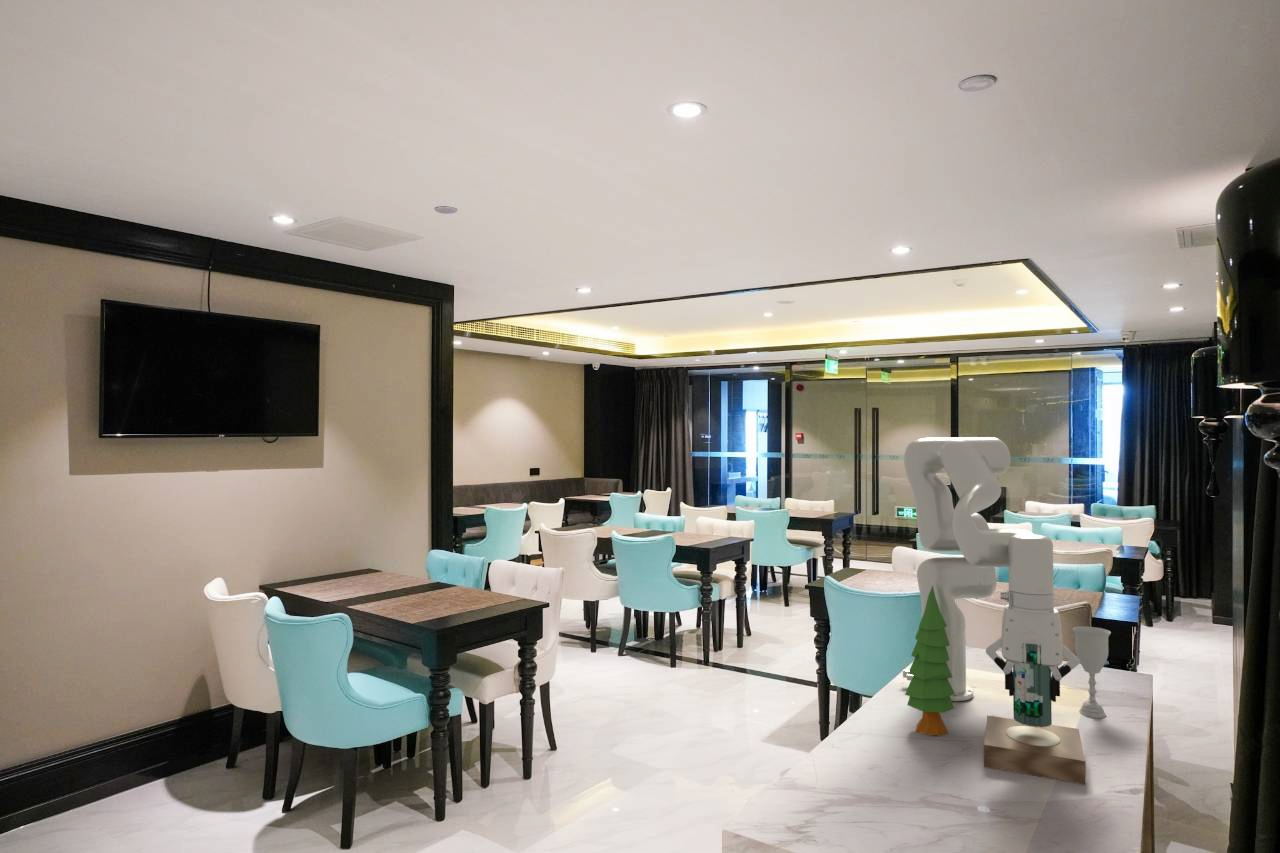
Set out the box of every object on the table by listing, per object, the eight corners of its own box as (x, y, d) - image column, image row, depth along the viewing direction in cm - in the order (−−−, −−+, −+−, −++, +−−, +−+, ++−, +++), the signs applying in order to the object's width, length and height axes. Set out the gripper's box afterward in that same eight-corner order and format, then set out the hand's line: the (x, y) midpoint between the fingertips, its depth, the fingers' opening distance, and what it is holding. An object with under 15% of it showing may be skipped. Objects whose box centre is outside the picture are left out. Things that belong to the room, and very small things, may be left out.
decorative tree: (937, 742, 148) (936, 590, 149) (894, 728, 156) (893, 583, 156) (962, 730, 155) (960, 583, 155) (919, 717, 162) (918, 577, 162)
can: (1006, 716, 143) (1006, 637, 143) (1032, 713, 145) (1031, 635, 145) (1032, 728, 137) (1031, 646, 138) (1058, 724, 139) (1057, 643, 139)
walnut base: (984, 766, 138) (983, 743, 138) (987, 735, 152) (987, 714, 152) (1085, 784, 130) (1085, 759, 130) (1078, 749, 145) (1078, 727, 145)
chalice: (1102, 708, 167) (1101, 626, 167) (1118, 719, 160) (1117, 634, 160) (1067, 707, 167) (1066, 626, 167) (1082, 718, 160) (1081, 634, 161)
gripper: (979, 600, 142) (980, 695, 142) (1086, 609, 134) (1087, 710, 134) (981, 593, 149) (982, 684, 149) (1082, 601, 141) (1084, 697, 141)
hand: (1032, 695), depth 141 cm, fingers closed on can, 6 cm apart
